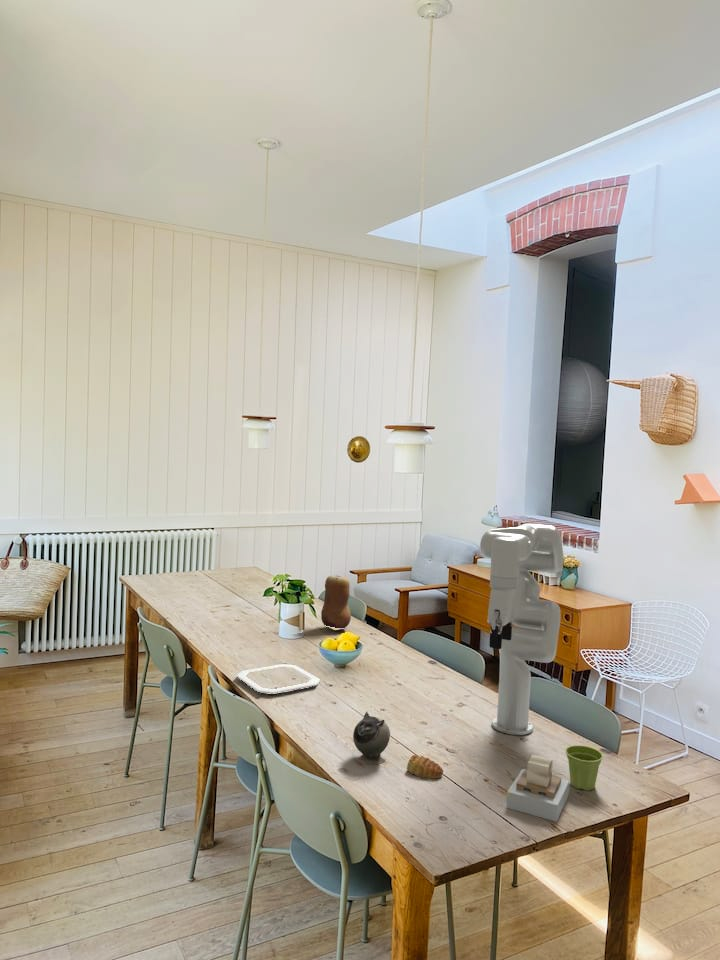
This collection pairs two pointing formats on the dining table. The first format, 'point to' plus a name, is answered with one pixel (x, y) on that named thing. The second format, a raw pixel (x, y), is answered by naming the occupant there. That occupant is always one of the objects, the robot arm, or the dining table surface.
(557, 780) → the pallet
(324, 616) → the butternut squash
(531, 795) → the dock
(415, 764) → the pastry
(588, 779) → the plant pot
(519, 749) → the dining table surface
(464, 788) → the dining table surface
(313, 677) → the white square frame
